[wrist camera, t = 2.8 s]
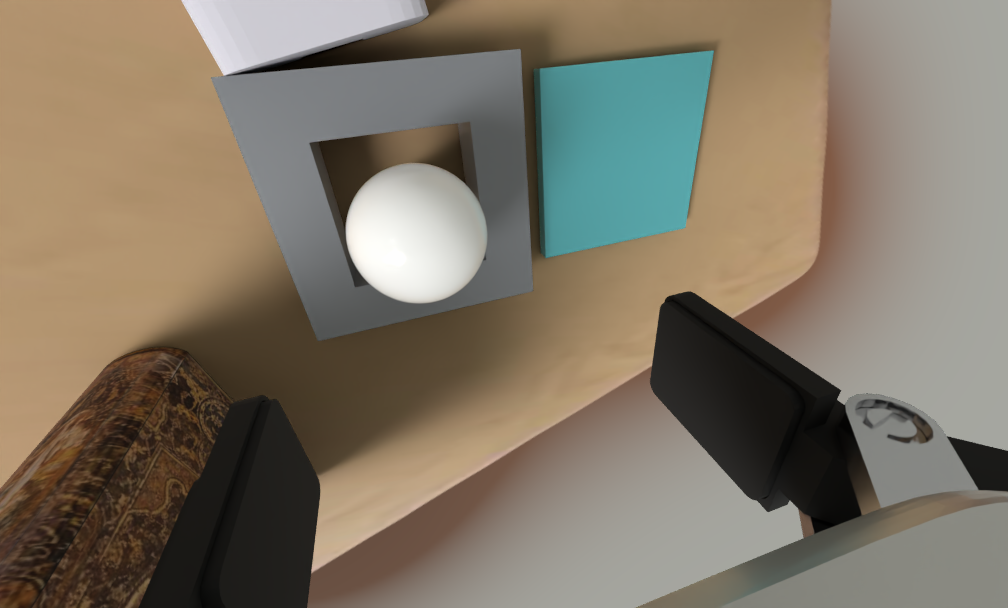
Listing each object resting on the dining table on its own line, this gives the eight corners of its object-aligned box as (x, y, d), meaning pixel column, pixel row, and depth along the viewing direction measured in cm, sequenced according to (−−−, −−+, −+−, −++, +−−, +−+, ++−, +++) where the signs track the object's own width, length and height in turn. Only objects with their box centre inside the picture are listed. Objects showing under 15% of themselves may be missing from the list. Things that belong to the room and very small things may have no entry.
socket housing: (232, 76, 20) (210, 77, 17) (500, 52, 23) (520, 48, 20) (322, 312, 27) (317, 341, 24) (516, 270, 30) (533, 291, 27)
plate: (533, 68, 24) (539, 68, 23) (702, 51, 26) (713, 50, 26) (540, 252, 30) (545, 258, 29) (676, 224, 33) (685, 227, 32)
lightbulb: (325, 190, 24) (304, 263, 14) (403, 114, 23) (431, 141, 14) (404, 260, 27) (426, 354, 18) (473, 196, 26) (532, 260, 17)
